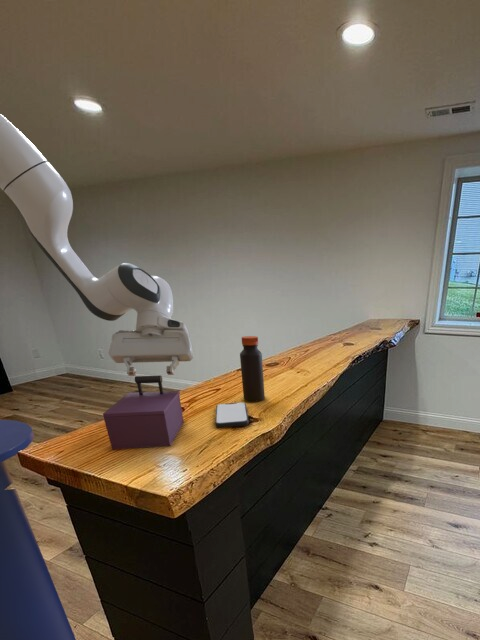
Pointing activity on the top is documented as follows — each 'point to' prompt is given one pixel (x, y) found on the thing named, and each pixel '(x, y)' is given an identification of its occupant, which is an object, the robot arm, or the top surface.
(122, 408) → the lid
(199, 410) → the top surface
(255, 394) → the bottle
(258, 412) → the top surface
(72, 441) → the top surface
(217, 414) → the smartphone
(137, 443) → the purple box
